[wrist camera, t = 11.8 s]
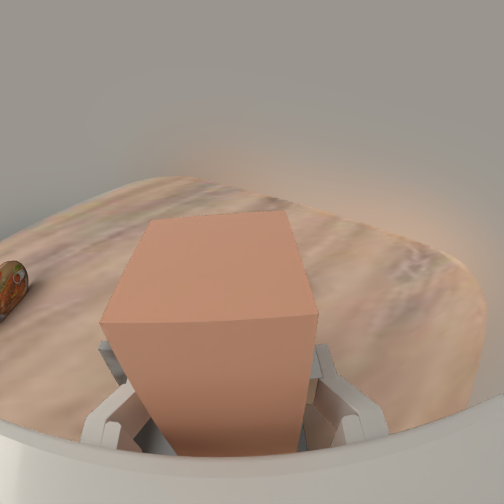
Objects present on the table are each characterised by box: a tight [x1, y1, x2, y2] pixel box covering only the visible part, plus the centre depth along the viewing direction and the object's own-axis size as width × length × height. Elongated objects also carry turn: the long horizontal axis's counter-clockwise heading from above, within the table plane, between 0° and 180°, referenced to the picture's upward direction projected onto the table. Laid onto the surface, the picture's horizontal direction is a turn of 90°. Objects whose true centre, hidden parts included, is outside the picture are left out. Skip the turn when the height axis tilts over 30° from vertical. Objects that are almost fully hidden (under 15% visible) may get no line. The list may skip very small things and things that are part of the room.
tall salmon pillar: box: [99, 210, 319, 457], centre depth 11 cm, size 4×5×12 cm
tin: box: [0, 261, 28, 322], centre depth 45 cm, size 15×3×8 cm, turn 171°
